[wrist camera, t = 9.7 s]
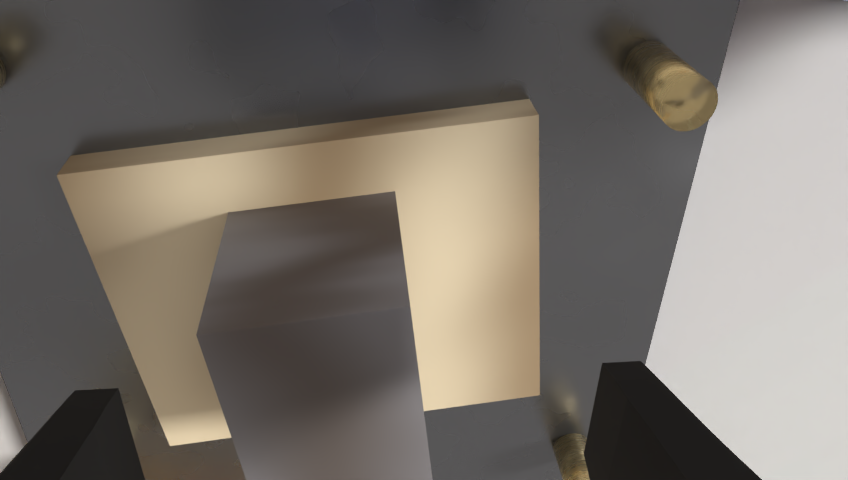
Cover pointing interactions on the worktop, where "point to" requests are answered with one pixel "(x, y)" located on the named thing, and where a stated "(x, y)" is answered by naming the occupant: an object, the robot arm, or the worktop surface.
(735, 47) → the worktop surface
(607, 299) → the pin plate
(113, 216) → the birch board
